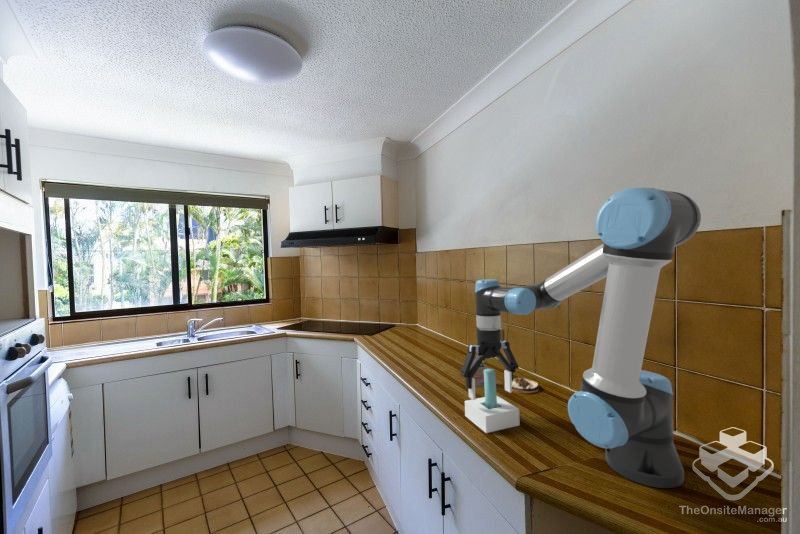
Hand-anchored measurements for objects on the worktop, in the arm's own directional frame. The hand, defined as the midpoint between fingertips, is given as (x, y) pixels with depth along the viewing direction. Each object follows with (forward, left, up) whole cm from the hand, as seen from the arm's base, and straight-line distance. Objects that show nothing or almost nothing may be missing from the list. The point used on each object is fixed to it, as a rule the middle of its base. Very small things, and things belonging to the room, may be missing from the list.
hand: (490, 394), depth 105 cm
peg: (0, 0, -8) cm, 8 cm away
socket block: (0, 0, -8) cm, 8 cm away
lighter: (+28, -13, -8) cm, 32 cm away
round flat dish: (+18, -27, -9) cm, 34 cm away
